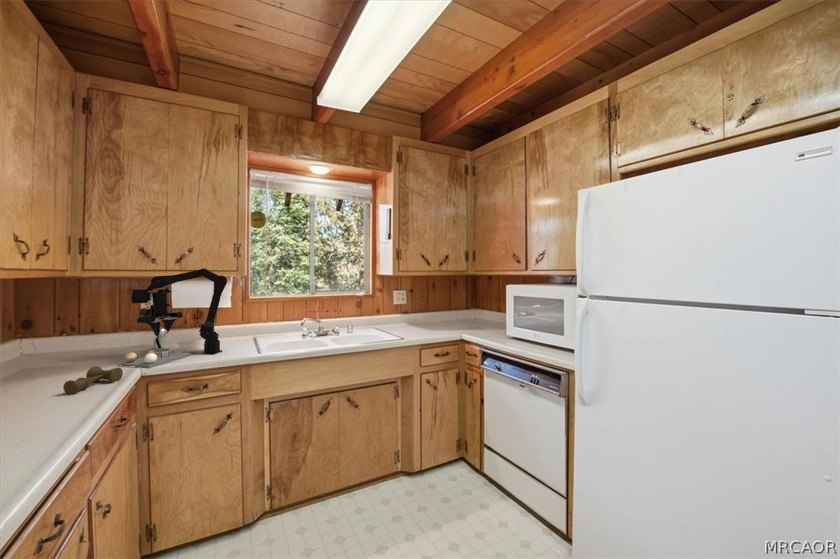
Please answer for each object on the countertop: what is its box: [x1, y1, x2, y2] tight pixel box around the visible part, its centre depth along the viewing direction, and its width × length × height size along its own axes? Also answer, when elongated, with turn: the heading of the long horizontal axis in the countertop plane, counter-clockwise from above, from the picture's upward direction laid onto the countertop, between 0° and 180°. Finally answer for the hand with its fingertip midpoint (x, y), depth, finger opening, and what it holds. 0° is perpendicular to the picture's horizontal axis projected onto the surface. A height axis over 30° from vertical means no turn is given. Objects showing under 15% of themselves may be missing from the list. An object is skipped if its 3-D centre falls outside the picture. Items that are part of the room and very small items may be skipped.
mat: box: [118, 352, 192, 369], centre depth 161 cm, size 16×21×1 cm
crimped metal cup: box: [147, 348, 177, 358], centre depth 166 cm, size 10×10×2 cm
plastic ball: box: [144, 353, 157, 363], centre depth 153 cm, size 4×4×4 cm
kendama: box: [62, 365, 124, 395], centre depth 129 cm, size 6×10×20 cm
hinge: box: [152, 332, 180, 350], centre depth 181 cm, size 17×5×10 cm, turn 21°
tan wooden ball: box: [123, 351, 138, 362], centre depth 155 cm, size 4×4×4 cm
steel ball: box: [158, 327, 167, 337], centre depth 166 cm, size 4×4×4 cm
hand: (161, 335), depth 166 cm, fingers closed on steel ball, 4 cm apart
